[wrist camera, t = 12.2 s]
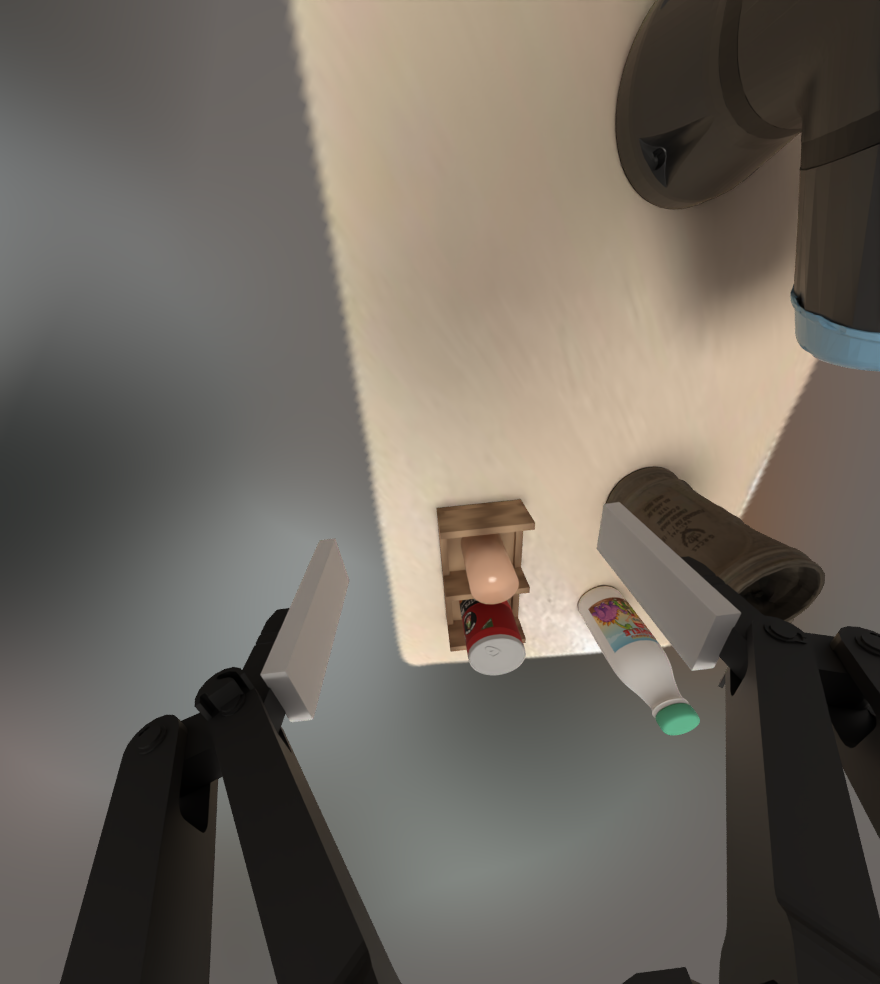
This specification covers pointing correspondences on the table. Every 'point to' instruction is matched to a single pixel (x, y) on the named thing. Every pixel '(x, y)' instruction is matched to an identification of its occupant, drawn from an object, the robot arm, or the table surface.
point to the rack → (452, 527)
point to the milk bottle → (636, 657)
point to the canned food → (491, 637)
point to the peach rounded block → (489, 568)
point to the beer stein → (722, 543)
